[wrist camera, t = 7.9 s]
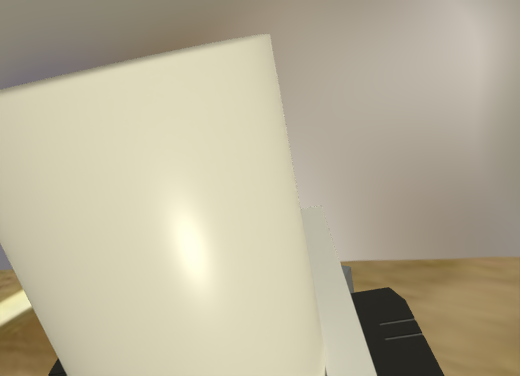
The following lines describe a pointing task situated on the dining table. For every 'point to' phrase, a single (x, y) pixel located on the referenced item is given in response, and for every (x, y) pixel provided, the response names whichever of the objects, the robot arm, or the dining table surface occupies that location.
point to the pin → (161, 216)
